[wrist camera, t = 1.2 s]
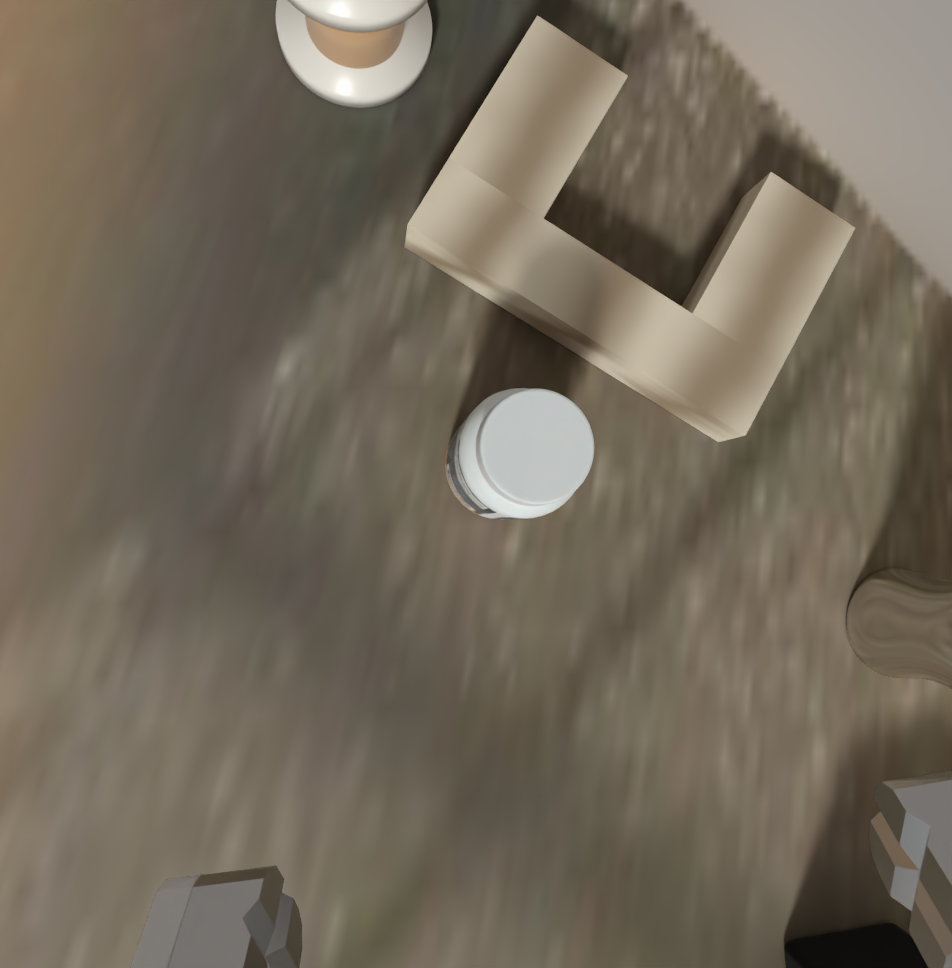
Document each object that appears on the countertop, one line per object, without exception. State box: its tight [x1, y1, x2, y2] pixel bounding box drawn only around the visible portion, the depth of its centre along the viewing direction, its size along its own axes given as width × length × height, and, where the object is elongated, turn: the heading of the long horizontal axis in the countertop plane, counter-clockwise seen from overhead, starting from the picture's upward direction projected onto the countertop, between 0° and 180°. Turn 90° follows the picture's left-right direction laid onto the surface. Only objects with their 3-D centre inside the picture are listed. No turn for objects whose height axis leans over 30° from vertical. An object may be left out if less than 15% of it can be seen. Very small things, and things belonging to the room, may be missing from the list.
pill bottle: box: [445, 388, 594, 520], centre depth 34 cm, size 6×6×10 cm
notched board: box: [405, 15, 855, 442], centre depth 39 cm, size 20×13×3 cm, turn 59°
